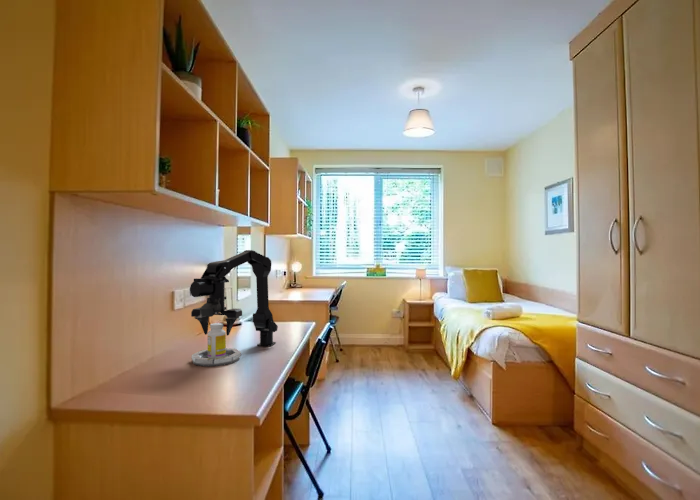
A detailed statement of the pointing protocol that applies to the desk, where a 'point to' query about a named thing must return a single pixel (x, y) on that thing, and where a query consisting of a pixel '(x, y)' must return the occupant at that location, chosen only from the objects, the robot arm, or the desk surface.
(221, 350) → the supplement bottle
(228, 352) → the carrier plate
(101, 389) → the desk surface
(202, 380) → the desk surface
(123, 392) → the desk surface
